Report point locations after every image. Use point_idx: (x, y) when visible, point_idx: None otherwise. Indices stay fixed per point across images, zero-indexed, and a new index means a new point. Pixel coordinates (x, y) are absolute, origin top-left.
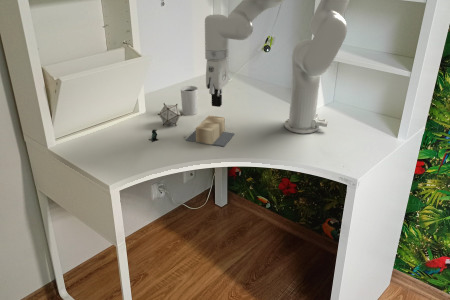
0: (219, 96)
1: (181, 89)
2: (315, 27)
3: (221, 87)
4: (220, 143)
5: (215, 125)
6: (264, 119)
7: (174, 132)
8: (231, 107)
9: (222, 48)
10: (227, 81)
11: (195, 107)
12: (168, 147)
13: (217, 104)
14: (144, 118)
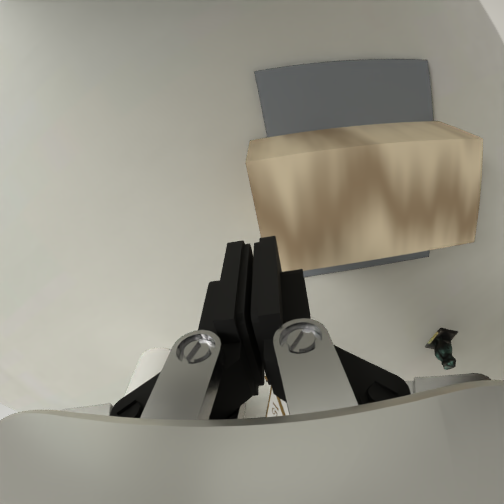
0: (281, 316)
1: None
2: None
3: (432, 423)
4: (413, 86)
5: (410, 154)
6: (9, 70)
7: (369, 326)
8: (18, 267)
9: None
10: (25, 440)
11: (158, 372)
12: (486, 272)
13: (280, 269)
14: None
